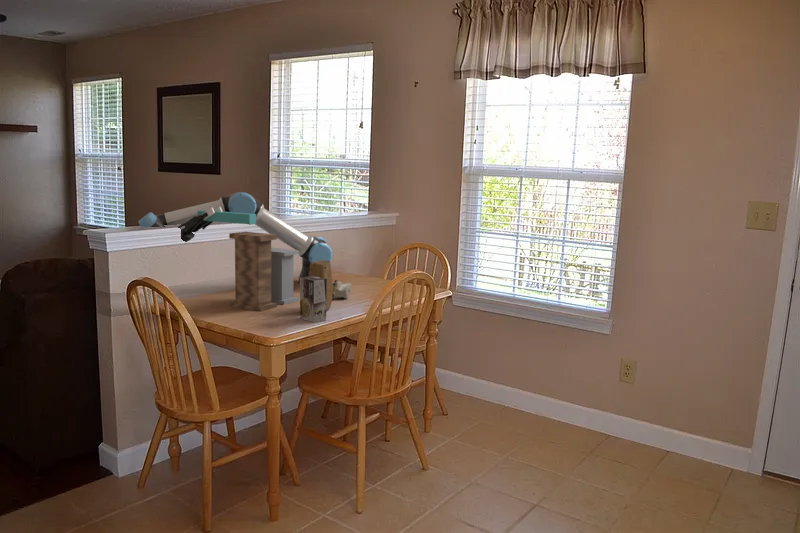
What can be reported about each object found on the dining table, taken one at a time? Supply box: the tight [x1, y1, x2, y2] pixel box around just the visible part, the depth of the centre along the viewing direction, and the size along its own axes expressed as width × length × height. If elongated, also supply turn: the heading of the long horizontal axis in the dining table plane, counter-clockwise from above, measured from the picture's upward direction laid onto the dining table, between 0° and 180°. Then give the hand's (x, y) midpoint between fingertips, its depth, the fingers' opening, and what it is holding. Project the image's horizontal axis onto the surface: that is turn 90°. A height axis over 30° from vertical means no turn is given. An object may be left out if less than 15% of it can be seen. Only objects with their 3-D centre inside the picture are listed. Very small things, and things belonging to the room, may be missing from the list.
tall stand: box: [228, 231, 278, 312], centre depth 252 cm, size 16×10×30 cm, turn 63°
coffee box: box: [299, 276, 327, 323], centre depth 235 cm, size 9×6×16 cm
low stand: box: [271, 247, 299, 305], centre depth 266 cm, size 16×10×22 cm, turn 63°
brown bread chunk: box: [309, 260, 334, 312], centre depth 251 cm, size 11×8×20 cm
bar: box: [198, 210, 256, 225], centre depth 259 cm, size 28×4×4 cm, turn 64°
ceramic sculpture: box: [332, 279, 352, 300], centre depth 275 cm, size 11×9×15 cm
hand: (217, 210), depth 260 cm, fingers closed on bar, 4 cm apart
